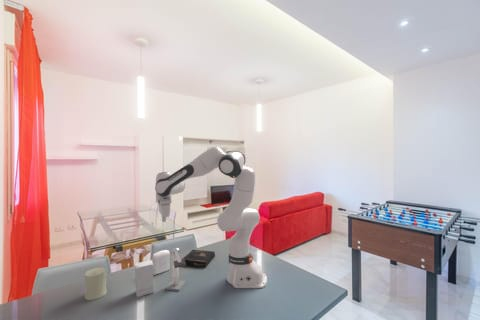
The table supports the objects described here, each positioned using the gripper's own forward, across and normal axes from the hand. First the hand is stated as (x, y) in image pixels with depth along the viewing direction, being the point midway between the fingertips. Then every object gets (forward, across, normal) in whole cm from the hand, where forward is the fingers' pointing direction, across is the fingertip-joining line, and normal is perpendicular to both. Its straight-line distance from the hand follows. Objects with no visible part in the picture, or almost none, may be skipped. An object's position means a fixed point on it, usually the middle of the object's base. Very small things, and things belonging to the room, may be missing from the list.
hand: (163, 221), depth 136 cm
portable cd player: (+30, -4, +23) cm, 38 cm away
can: (+30, +9, -34) cm, 46 cm away
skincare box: (+30, +18, -12) cm, 37 cm away
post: (+30, +20, +3) cm, 36 cm away
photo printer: (+30, 0, -2) cm, 30 cm away
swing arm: (+12, +29, +2) cm, 31 cm away
